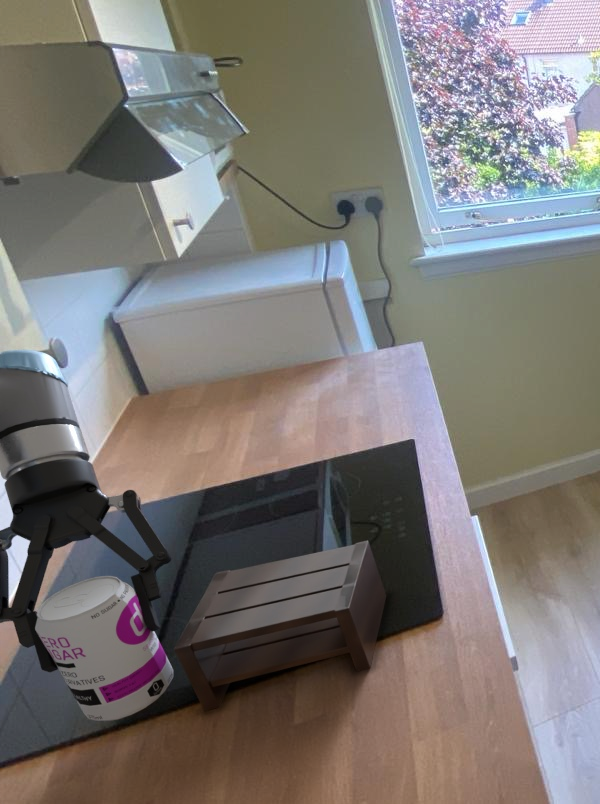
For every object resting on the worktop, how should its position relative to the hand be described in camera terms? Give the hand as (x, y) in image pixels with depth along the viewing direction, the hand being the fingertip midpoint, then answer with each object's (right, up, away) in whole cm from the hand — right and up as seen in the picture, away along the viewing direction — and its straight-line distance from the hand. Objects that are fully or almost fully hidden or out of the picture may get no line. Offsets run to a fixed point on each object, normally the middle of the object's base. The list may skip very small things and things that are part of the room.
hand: (104, 647), depth 83 cm
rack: (+13, -6, +14) cm, 20 cm away
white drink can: (-1, -8, +4) cm, 9 cm away
